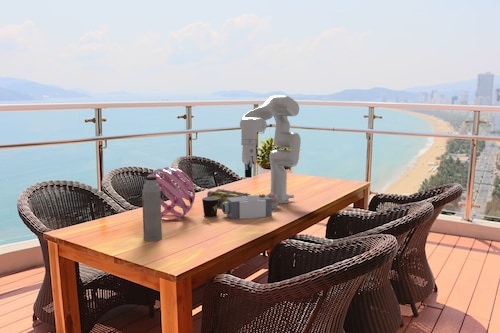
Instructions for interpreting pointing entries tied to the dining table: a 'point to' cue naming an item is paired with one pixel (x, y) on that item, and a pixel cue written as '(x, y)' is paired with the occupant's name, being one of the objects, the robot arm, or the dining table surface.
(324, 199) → the dining table surface
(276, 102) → the robot arm
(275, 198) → the cupcake
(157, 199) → the thermos bottle
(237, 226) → the dining table surface
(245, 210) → the side door
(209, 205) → the coffee mug
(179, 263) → the dining table surface
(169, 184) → the spiral basket
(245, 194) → the cage light
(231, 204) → the block
